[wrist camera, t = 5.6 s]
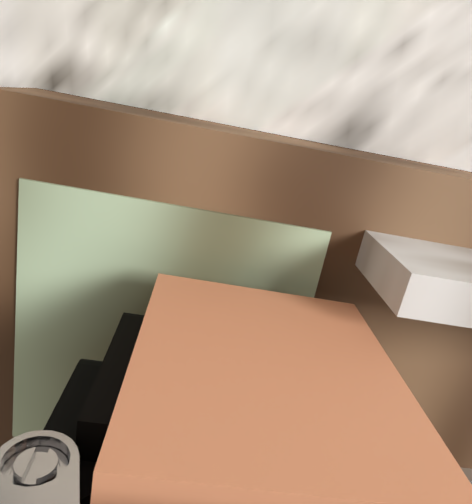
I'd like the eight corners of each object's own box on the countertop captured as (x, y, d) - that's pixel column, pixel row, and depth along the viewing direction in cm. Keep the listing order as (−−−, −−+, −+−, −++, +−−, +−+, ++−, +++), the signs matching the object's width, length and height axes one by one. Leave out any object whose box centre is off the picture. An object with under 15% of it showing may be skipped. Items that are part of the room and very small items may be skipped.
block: (354, 304, 11) (492, 515, 6) (307, 456, 13) (378, 739, 7) (158, 273, 11) (92, 471, 5) (135, 435, 12) (67, 721, 7)
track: (792, 234, 16) (1120, 314, 10) (630, 489, 19) (799, 651, 14) (37, 88, 13) (-102, 83, 7) (25, 416, 17) (-72, 577, 11)
